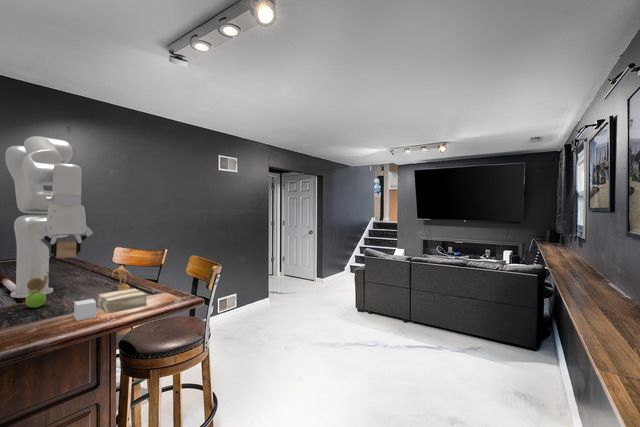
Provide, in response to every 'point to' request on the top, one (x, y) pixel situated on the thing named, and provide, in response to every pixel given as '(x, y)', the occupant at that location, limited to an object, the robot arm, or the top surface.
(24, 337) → the top surface
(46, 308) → the top surface
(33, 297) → the snail figurine
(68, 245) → the walnut cube
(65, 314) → the top surface
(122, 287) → the figurine
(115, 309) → the birch block
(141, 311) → the top surface
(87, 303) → the grey cube
